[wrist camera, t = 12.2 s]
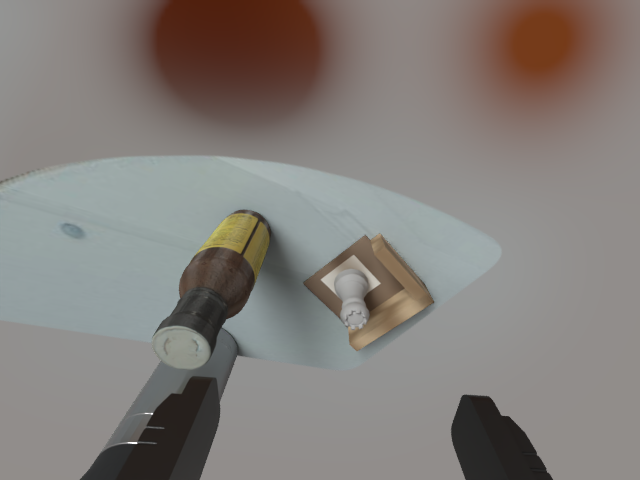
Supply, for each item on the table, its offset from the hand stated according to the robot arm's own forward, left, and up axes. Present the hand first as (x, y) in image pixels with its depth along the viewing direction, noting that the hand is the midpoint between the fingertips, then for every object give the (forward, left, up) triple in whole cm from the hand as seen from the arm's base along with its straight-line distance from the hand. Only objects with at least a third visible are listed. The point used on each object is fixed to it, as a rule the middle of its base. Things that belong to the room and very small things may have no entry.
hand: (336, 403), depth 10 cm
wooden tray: (-5, -13, -28) cm, 31 cm away
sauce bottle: (-11, +3, -28) cm, 31 cm away
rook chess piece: (-6, -11, -28) cm, 31 cm away
